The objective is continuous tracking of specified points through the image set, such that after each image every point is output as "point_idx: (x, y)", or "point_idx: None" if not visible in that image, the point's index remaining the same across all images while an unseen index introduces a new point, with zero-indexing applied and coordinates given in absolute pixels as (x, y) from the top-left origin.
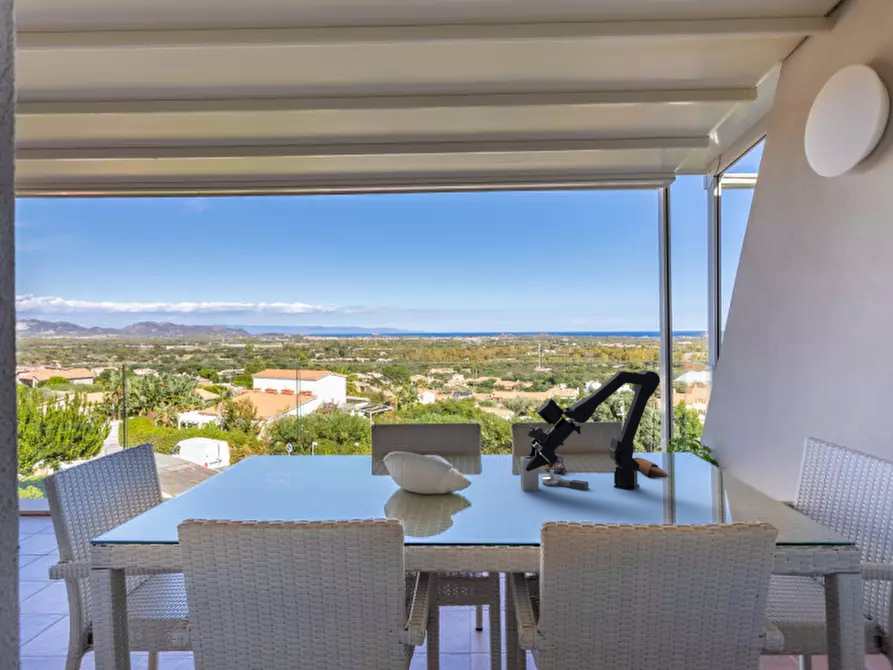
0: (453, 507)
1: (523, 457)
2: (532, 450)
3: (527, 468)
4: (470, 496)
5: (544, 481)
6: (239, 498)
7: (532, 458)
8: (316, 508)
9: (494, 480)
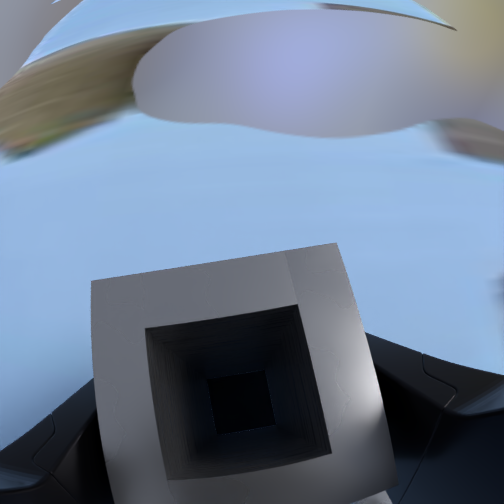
0: (19, 128)
1: (276, 288)
2: (479, 430)
3: None
4: (105, 136)
5: None
6: None
7: (322, 443)
8: (103, 7)
9: (384, 198)
